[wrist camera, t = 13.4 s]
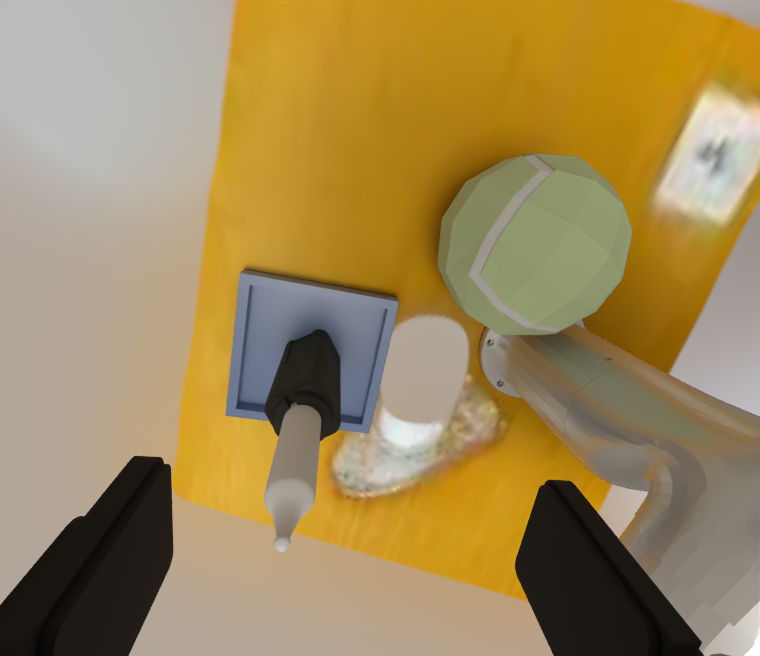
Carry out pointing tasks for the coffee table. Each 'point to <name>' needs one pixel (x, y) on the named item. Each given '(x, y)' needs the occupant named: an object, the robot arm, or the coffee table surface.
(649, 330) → the coffee table surface
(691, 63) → the coffee table surface
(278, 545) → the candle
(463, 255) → the decorative sphere
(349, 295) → the slate blue tray
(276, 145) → the coffee table surface
